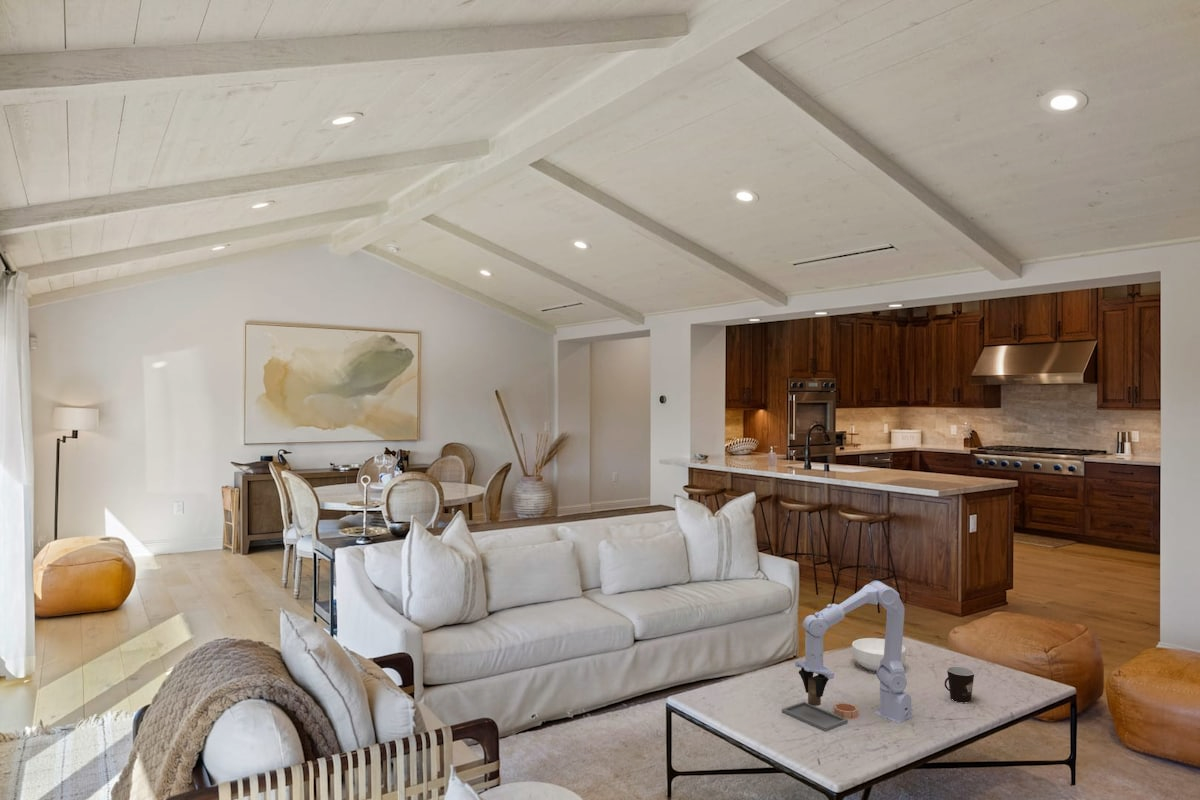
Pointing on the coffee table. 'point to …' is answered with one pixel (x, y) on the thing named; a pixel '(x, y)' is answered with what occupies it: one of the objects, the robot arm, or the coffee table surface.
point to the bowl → (871, 652)
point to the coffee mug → (960, 683)
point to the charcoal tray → (814, 716)
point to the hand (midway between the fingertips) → (814, 694)
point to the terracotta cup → (846, 710)
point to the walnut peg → (813, 693)
